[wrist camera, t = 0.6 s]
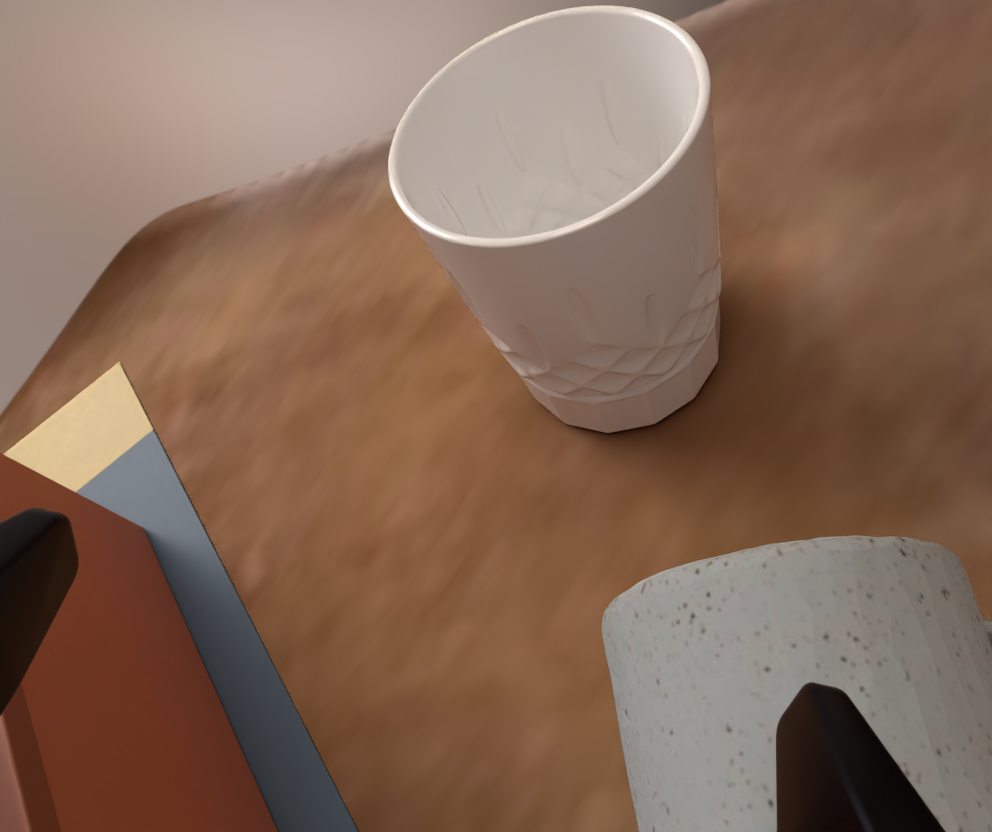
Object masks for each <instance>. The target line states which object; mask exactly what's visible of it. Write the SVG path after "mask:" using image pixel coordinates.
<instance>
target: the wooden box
mask: <svg viewBox="0 0 992 832" xmlns="http://www.w3.org/2000/svg"><path fill="white" fill-rule="evenodd" d="M30 508H42V509H46V510H50V511H55V512H59V513H63V514H65V515H66V516H67V517H68V518H69V519H70V522H71V525H72V530H73V534H74V539H75V543H76V548H77V552H78V557H79V567H78V572H77V575H76V577H75V580H74V582H73V584H72V586H71V587H70V589H69V591H68V593H67V595H66V597H65V599H64V601H63V603H62V605H61V607H60V609H59V611H58V613H57V614H56V616H55V618H54V620H53V622H52V624H51V626H50V628H49V630H48V632H47V634H46V636H45V638H44V640H43V641H42V643H41V645H40V647H39V649H38V651H37V653H36V655H35V657H34V659H33V661H32V663H31V665H30V666H29V668H28V670H27V672H26V674H25V676H24V678H23V680H22V681H21V683H20V685H19V687H18V689H17V690H16V692H15V694H14V695H13V697H12V699H11V700H10V702H9V703H8V705H7V707H6V708H5V710H4V711H3V713H2V714H1V716H0V832H278V830H277V828H276V826H275V824H274V821H273V819H272V817H271V815H270V812H269V810H268V808H267V806H266V803H265V801H264V799H263V797H262V794H261V792H260V790H259V788H258V785H257V783H256V781H255V779H254V776H253V774H252V772H251V770H250V767H249V765H248V763H247V761H246V758H245V756H244V754H243V752H242V749H241V747H240V745H239V742H238V740H237V738H236V736H235V733H234V731H233V729H232V727H231V724H230V722H229V720H228V718H227V715H226V713H225V711H224V709H223V706H222V704H221V702H220V700H219V697H218V695H217V693H216V691H215V688H214V686H213V684H212V682H211V679H210V677H209V675H208V673H207V670H206V668H205V666H204V663H203V661H202V659H201V657H200V654H199V652H198V650H197V648H196V645H195V643H194V641H193V639H192V636H191V634H190V632H189V630H188V627H187V625H186V623H185V621H184V618H183V616H182V614H181V612H180V609H179V607H178V605H177V603H176V600H175V598H174V596H173V594H172V591H171V589H170V587H169V584H168V582H167V580H166V578H165V575H164V573H163V571H162V569H161V566H160V564H159V562H158V560H157V557H156V555H155V553H154V551H153V548H152V546H151V544H150V542H149V539H148V537H147V535H146V533H145V530H144V528H143V527H141V526H139V525H137V524H135V523H133V522H131V521H129V520H128V519H126V518H124V517H122V516H120V515H118V514H116V513H114V512H112V511H110V510H108V509H107V508H105V507H103V506H101V505H99V504H97V503H95V502H93V501H91V500H89V499H87V498H86V497H84V496H82V495H80V494H78V493H76V492H74V491H72V490H70V489H68V488H66V487H65V486H63V485H61V484H59V483H57V482H55V481H53V480H51V479H49V478H47V477H46V476H44V475H42V474H40V473H38V472H36V471H34V470H32V469H30V468H28V467H26V466H25V465H23V464H21V463H19V462H17V461H15V460H13V459H11V458H9V457H7V456H5V455H4V454H2V453H0V523H1V522H2V521H4V520H6V519H8V518H10V517H12V516H14V515H16V514H18V513H20V512H22V511H24V510H27V509H30Z"/></svg>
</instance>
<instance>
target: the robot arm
mask: <svg viewBox="0 0 992 832" xmlns="http://www.w3.org/2000/svg"><path fill="white" fill-rule="evenodd" d="M78 567H79V557H78V552H77V548H76V543H75V539H74V534H73V530H72V525H71V522H70V519H69V518H68V517H67V516H66V515H65V514H63V513H59V512H55V511H50V510H46V509H42V508H30V509H27V510H24V511H22V512H20V513H18V514H16V515H14V516H12V517H10V518H8V519H6V520H4V521H2V522H1V523H0V716H1V714H2V713H3V711H4V710H5V708H6V707H7V705H8V703H9V702H10V700H11V699H12V697H13V695H14V694H15V692H16V690H17V689H18V687H19V685H20V683H21V681H22V680H23V678H24V676H25V674H26V672H27V670H28V668H29V666H30V665H31V663H32V661H33V659H34V657H35V655H36V653H37V651H38V649H39V647H40V645H41V643H42V641H43V640H44V638H45V636H46V634H47V632H48V630H49V628H50V626H51V624H52V622H53V620H54V618H55V616H56V614H57V613H58V611H59V609H60V607H61V605H62V603H63V601H64V599H65V597H66V595H67V593H68V591H69V589H70V587H71V586H72V584H73V582H74V580H75V577H76V575H77V572H78ZM776 805H777V832H946V831H945V830H944V828H943V827H942V826H941V824H940V823H939V821H938V820H937V819H936V817H935V816H934V814H933V813H932V812H931V810H930V809H929V807H928V806H927V805H926V803H925V802H924V800H923V799H922V798H921V796H920V795H919V794H918V792H917V791H916V789H915V788H914V787H913V785H912V784H911V782H910V781H909V780H908V778H907V777H906V775H905V774H904V773H903V771H902V770H901V768H900V767H899V766H898V764H897V763H896V762H895V760H894V759H893V757H892V756H891V755H890V753H889V752H888V750H887V749H886V748H885V746H884V745H883V743H882V742H881V741H880V739H879V738H878V736H877V735H876V734H875V732H874V731H873V730H872V728H871V727H870V725H869V724H868V723H867V721H866V720H865V718H864V717H863V716H862V714H861V713H860V711H859V710H858V709H857V707H856V706H855V704H854V703H853V702H852V700H851V699H850V698H849V696H848V695H847V694H846V693H845V692H844V691H843V690H841V689H839V688H836V687H832V686H828V685H823V684H819V683H815V682H809V683H807V684H804V685H803V686H802V688H801V689H800V690H799V692H798V693H797V695H796V696H795V697H794V699H793V700H792V702H791V703H790V705H789V706H788V707H787V709H786V710H785V712H784V713H783V714H782V716H781V718H780V720H779V722H778V726H777V730H776Z"/></svg>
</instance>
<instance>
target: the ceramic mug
mask: <svg viewBox="0 0 992 832" xmlns="http://www.w3.org/2000/svg"><path fill="white" fill-rule="evenodd" d="M602 636H603V641H604V647H605V652H606V657H607V662H608V666H609V671H610V676H611V681H612V686H613V693H614V699H615V705H616V711H617V717H618V723H619V729H620V736H621V742H622V747H623V753H624V758H625V764H626V769H627V775H628V780H629V785H630V790H631V795H632V800H633V804H634V809H635V813H636V818H637V823H638V828H639V832H777V805H776V730H777V726H778V722H779V720H780V718H781V716H782V714H783V713H784V712H785V710H786V709H787V707H788V706H789V705H790V703H791V702H792V700H793V699H794V697H795V696H796V695H797V693H798V692H799V690H800V689H801V688H802V686H803V685H804V684H807V683H809V682H815V683H819V684H823V685H828V686H832V687H836V688H839V689H841V690H843V691H844V692H845V693H846V694H847V695H848V696H849V698H850V699H851V700H852V702H853V703H854V704H855V706H856V707H857V709H858V710H859V711H860V713H861V714H862V716H863V717H864V718H865V720H866V721H867V723H868V724H869V725H870V727H871V728H872V730H873V731H874V732H875V734H876V735H877V736H878V738H879V739H880V741H881V742H882V743H883V745H884V746H885V748H886V749H887V750H888V752H889V753H890V755H891V756H892V757H893V759H894V760H895V762H896V763H897V764H898V766H899V767H900V768H901V770H902V771H903V773H904V774H905V775H906V777H907V778H908V780H909V781H910V782H911V784H912V785H913V787H914V788H915V789H916V791H917V792H918V794H919V795H920V796H921V798H922V799H923V800H924V802H925V803H926V805H927V806H928V807H929V809H930V810H931V812H932V813H933V814H934V816H935V817H936V819H937V820H938V821H939V823H940V824H941V826H942V827H943V828H944V830H945V831H946V832H992V620H986V619H982V616H981V613H980V610H979V607H978V604H977V601H976V598H975V595H974V592H973V590H972V587H971V584H970V581H969V578H968V576H967V574H966V572H965V570H964V568H963V566H962V564H961V562H960V559H959V558H958V556H957V555H955V554H954V553H953V552H952V551H950V550H949V549H947V548H945V547H943V546H941V545H939V544H937V543H931V542H927V541H923V540H917V539H912V538H906V537H897V536H889V537H869V536H840V537H819V538H814V539H810V540H800V541H791V542H784V543H776V544H768V545H764V546H760V547H755V548H751V549H745V550H741V551H737V552H733V553H729V554H725V555H721V556H717V557H712V558H708V559H703V560H699V561H695V562H691V563H688V564H685V565H681V566H678V567H675V568H671V569H668V570H665V571H662V572H660V573H657V574H655V575H653V576H651V577H648V578H646V579H644V580H642V581H640V582H639V583H637V584H636V585H634V586H633V587H632V588H630V589H629V590H627V591H626V592H624V593H622V594H621V595H619V596H618V597H616V598H615V599H614V600H613V601H612V602H611V603H610V604H609V605H608V607H607V608H606V610H605V612H604V615H603V620H602Z"/></svg>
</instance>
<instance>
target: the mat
mask: <svg viewBox="0 0 992 832" xmlns="http://www.w3.org/2000/svg"><path fill="white" fill-rule="evenodd" d="M4 455H5V456H7V457H9V458H11V459H13V460H15V461H17V462H19V463H21V464H23V465H25V466H26V467H28V468H30V469H32V470H34V471H36V472H38V473H40V474H42V475H44V476H46V477H47V478H49V479H51V480H53V481H55V482H57V483H59V484H61V485H63V486H65V487H66V488H68V489H70V490H72V491H74V492H76V493H78V494H80V495H82V496H84V497H86V498H87V499H89V500H91V501H93V502H95V503H97V504H99V505H101V506H103V507H105V508H107V509H108V510H110V511H112V512H114V513H116V514H118V515H120V516H122V517H124V518H126V519H128V520H129V521H131V522H133V523H135V524H137V525H139V526H141V527H143V528H144V530H145V533H146V535H147V537H148V539H149V542H150V544H151V546H152V548H153V551H154V553H155V555H156V557H157V560H158V562H159V564H160V566H161V569H162V571H163V573H164V575H165V578H166V580H167V582H168V584H169V587H170V589H171V591H172V594H173V596H174V598H175V600H176V603H177V605H178V607H179V609H180V612H181V614H182V616H183V618H184V621H185V623H186V625H187V627H188V630H189V632H190V634H191V636H192V639H193V641H194V643H195V645H196V648H197V650H198V652H199V654H200V657H201V659H202V661H203V663H204V666H205V668H206V670H207V673H208V675H209V677H210V679H211V682H212V684H213V686H214V688H215V691H216V693H217V695H218V697H219V700H220V702H221V704H222V706H223V709H224V711H225V713H226V715H227V718H228V720H229V722H230V724H231V727H232V729H233V731H234V733H235V736H236V738H237V740H238V742H239V745H240V747H241V749H242V752H243V754H244V756H245V758H246V761H247V763H248V765H249V767H250V770H251V772H252V774H253V776H254V779H255V781H256V783H257V785H258V788H259V790H260V792H261V794H262V797H263V799H264V801H265V803H266V806H267V808H268V810H269V812H270V815H271V817H272V819H273V821H274V824H275V826H276V828H277V830H278V832H359V831H358V829H357V827H356V825H355V823H354V821H353V819H352V817H351V815H350V813H349V811H348V809H347V807H346V805H345V803H344V801H343V799H342V797H341V795H340V793H339V791H338V789H337V787H336V785H335V783H334V781H333V780H332V778H331V776H330V774H329V772H328V770H327V768H326V766H325V764H324V762H323V760H322V758H321V756H320V754H319V752H318V750H317V748H316V746H315V744H314V742H313V740H312V738H311V736H310V734H309V732H308V730H307V728H306V726H305V725H304V723H303V721H302V719H301V717H300V715H299V713H298V711H297V709H296V707H295V705H294V703H293V701H292V699H291V697H290V695H289V693H288V691H287V689H286V687H285V685H284V683H283V681H282V679H281V677H280V675H279V673H278V671H277V669H276V668H275V666H274V664H273V662H272V660H271V658H270V656H269V654H268V652H267V650H266V648H265V646H264V644H263V642H262V640H261V638H260V636H259V634H258V632H257V630H256V628H255V626H254V624H253V622H252V620H251V618H250V616H249V614H248V613H247V611H246V609H245V607H244V605H243V603H242V601H241V599H240V597H239V595H238V593H237V591H236V589H235V587H234V585H233V583H232V581H231V579H230V577H229V575H228V573H227V571H226V569H225V567H224V565H223V563H222V561H221V559H220V557H219V556H218V554H217V552H216V550H215V548H214V546H213V544H212V542H211V540H210V538H209V536H208V534H207V532H206V530H205V528H204V526H203V524H202V522H201V520H200V518H199V516H198V514H197V512H196V510H195V508H194V506H193V504H192V502H191V501H190V499H189V497H188V495H187V493H186V491H185V489H184V487H183V485H182V483H181V481H180V479H179V477H178V475H177V473H176V471H175V469H174V467H173V465H172V463H171V461H170V459H169V457H168V455H167V453H166V451H165V449H164V447H163V445H162V444H161V442H160V440H159V438H158V436H157V434H156V432H155V430H154V428H153V426H152V424H151V422H150V420H149V418H148V416H147V414H146V412H145V410H144V408H143V406H142V404H141V402H140V400H139V398H138V396H137V394H136V392H135V390H134V389H133V387H132V385H131V383H130V381H129V379H128V377H127V375H126V373H125V371H124V369H123V367H122V365H121V363H120V362H119V363H117V364H116V365H115V366H114V367H112V368H111V369H110V370H109V371H107V372H106V373H105V374H103V375H102V376H101V377H100V378H98V379H97V380H96V381H95V382H93V383H92V384H91V385H90V386H88V387H87V388H86V389H85V390H83V391H82V392H81V393H80V394H78V395H77V396H76V397H75V398H73V399H72V400H71V401H70V402H68V403H67V404H66V405H65V406H63V407H62V408H61V409H60V410H58V411H57V412H56V413H55V414H53V415H52V416H51V417H50V418H48V419H47V420H46V421H44V422H43V423H42V424H41V425H39V426H38V427H37V428H36V429H34V430H33V431H32V432H31V433H29V434H28V435H27V436H26V437H24V438H23V439H22V440H21V441H19V442H18V443H17V444H16V445H14V446H13V447H12V448H11V449H9V450H8V451H7V452H6V453H4Z"/></svg>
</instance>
